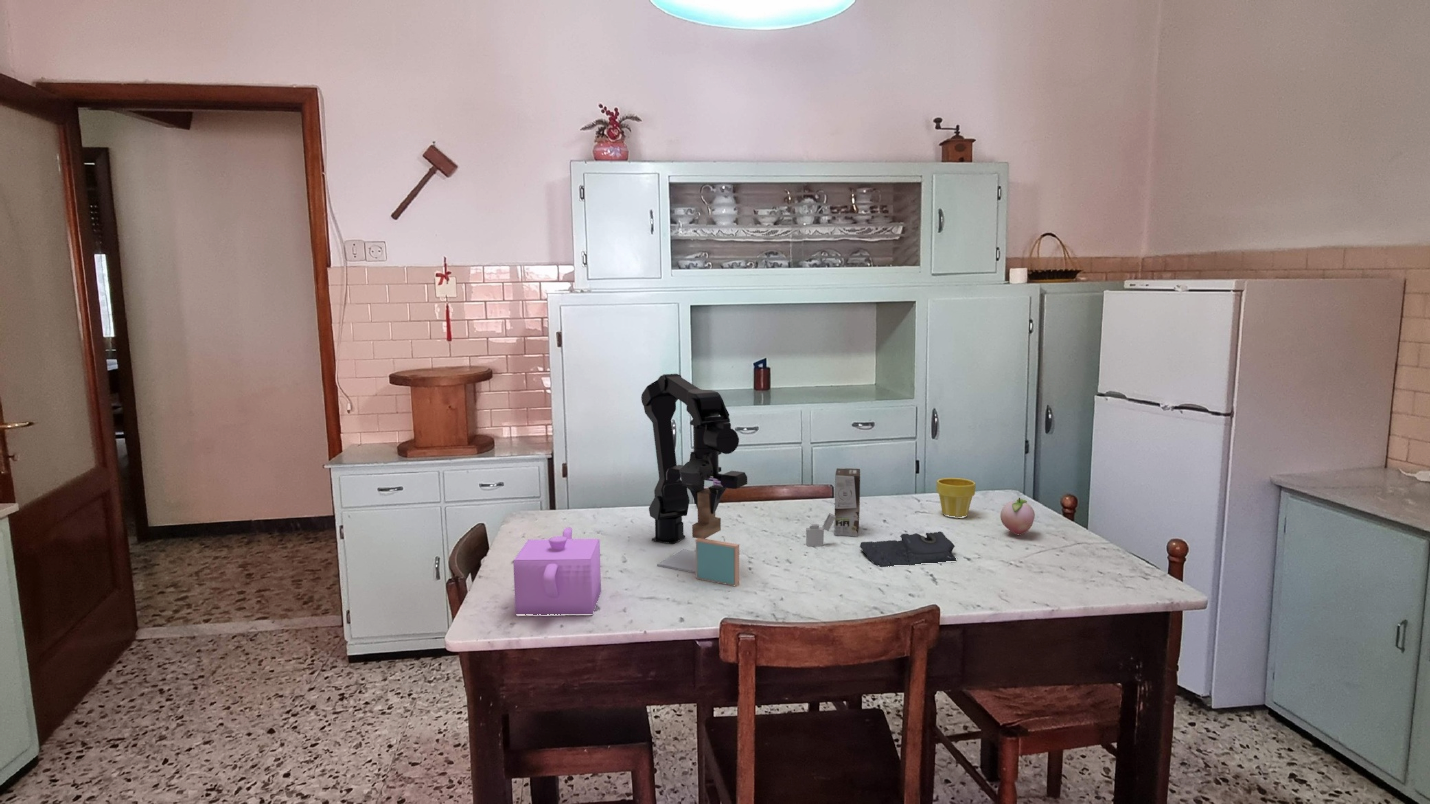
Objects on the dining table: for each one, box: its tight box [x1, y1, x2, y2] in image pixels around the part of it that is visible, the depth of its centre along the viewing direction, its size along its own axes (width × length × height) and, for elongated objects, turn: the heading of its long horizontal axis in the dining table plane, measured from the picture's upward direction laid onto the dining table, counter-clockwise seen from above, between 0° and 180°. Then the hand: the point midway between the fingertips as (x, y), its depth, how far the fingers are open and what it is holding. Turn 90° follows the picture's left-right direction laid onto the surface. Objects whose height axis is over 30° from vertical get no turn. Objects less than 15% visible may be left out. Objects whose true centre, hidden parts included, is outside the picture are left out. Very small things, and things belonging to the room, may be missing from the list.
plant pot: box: [936, 477, 976, 517], centre depth 226 cm, size 10×10×10 cm
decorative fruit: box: [999, 497, 1036, 536], centre depth 207 cm, size 9×8×10 cm
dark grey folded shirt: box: [859, 531, 957, 568], centre depth 194 cm, size 15×22×5 cm
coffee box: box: [833, 467, 861, 538], centre depth 211 cm, size 9×6×16 cm
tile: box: [695, 538, 740, 587], centre depth 176 cm, size 10×2×9 cm, turn 61°
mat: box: [656, 548, 696, 574], centre depth 189 cm, size 12×12×1 cm
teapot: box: [512, 526, 602, 615], centre depth 165 cm, size 15×25×14 cm, turn 1°
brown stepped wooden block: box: [691, 489, 722, 539], centre depth 186 cm, size 3×8×10 cm, turn 151°
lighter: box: [805, 512, 836, 547], centre depth 201 cm, size 7×2×8 cm, turn 95°
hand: (706, 512), depth 186 cm, fingers closed on brown stepped wooden block, 3 cm apart
